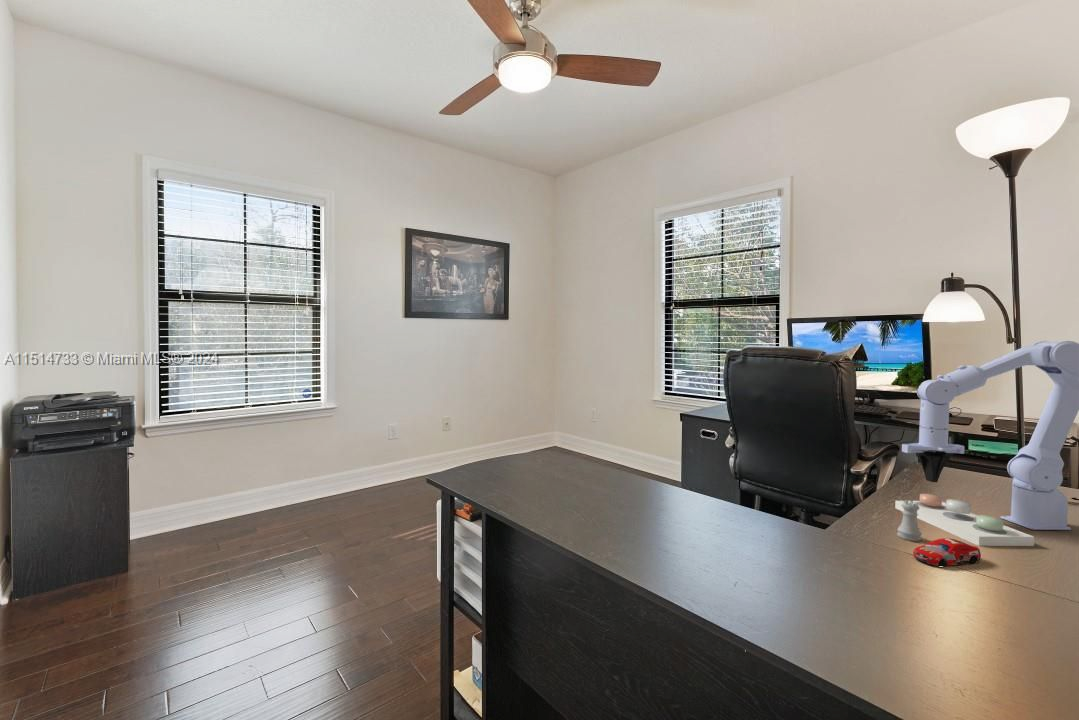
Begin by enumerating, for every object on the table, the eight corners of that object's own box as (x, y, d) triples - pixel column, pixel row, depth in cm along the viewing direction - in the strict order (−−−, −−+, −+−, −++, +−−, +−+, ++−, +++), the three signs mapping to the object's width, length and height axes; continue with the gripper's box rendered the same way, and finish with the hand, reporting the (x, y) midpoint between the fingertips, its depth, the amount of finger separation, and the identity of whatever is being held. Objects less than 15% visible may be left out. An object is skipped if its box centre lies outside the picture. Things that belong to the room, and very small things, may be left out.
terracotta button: (931, 501, 128) (932, 493, 128) (946, 507, 123) (946, 499, 123) (915, 501, 128) (915, 493, 127) (929, 506, 123) (929, 498, 123)
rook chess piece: (926, 543, 106) (927, 506, 106) (902, 541, 107) (904, 504, 107) (915, 535, 111) (916, 499, 111) (892, 533, 112) (894, 498, 111)
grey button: (959, 507, 120) (959, 499, 120) (975, 513, 115) (976, 505, 115) (941, 507, 120) (941, 499, 119) (957, 513, 115) (957, 505, 115)
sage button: (989, 524, 112) (990, 515, 112) (1008, 531, 107) (1009, 522, 107) (970, 523, 112) (971, 515, 112) (988, 531, 107) (989, 522, 107)
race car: (933, 570, 94) (934, 549, 94) (906, 558, 99) (907, 538, 99) (987, 564, 97) (988, 544, 97) (958, 553, 102) (959, 533, 102)
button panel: (940, 508, 130) (940, 500, 130) (1033, 546, 106) (1034, 535, 106) (895, 508, 129) (895, 499, 129) (978, 545, 105) (979, 535, 105)
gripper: (918, 430, 121) (915, 485, 121) (976, 430, 121) (973, 485, 121) (896, 425, 128) (894, 477, 128) (951, 426, 128) (949, 478, 128)
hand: (931, 481), depth 125 cm, fingers closed
